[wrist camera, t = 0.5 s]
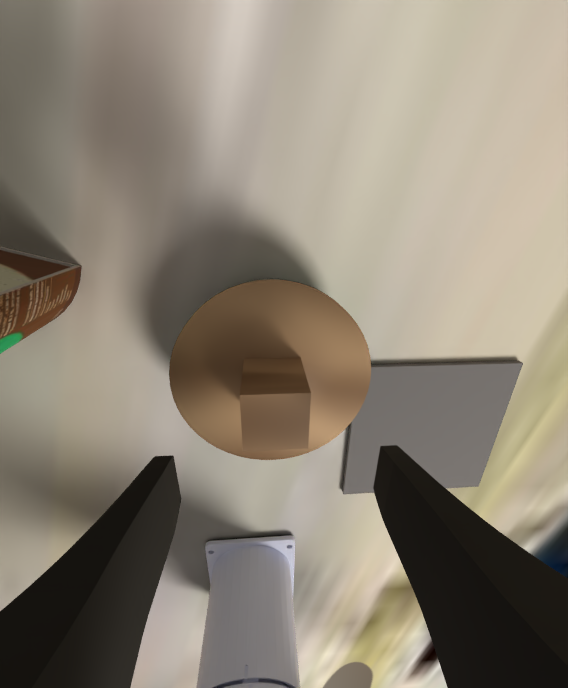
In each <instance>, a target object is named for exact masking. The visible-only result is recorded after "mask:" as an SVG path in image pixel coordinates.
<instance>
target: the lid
mask: <svg viewBox="0 0 568 688" xmlns="http://www.w3.org/2000/svg"><path fill="white" fill-rule="evenodd" d="M169 377H170V387H171V391H172V395H173V398H174V401H175V403H176V406H177V408H178V410H179V412H180V413H181V415H182V417H183V418H184V420H185V421H186V422H187V423H188V425H189V426H190V427H191V428H192V429H193V430H194V431H195V432H196V433H197V434H198V435H199V436H200V437H202V438H203V439H204V440H206V441H207V442H208V443H210V444H212V445H213V446H215V447H217V448H219V449H221V450H223V451H226V452H228V453H231V454H234V455H237V456H241V457H245V458H250V459H260V460H276V459H285V458H290V457H295V456H299V455H302V454H305V453H308V452H310V451H313V450H315V449H317V448H319V447H321V446H323V445H325V444H327V443H328V442H330V441H331V440H332V439H334V438H335V437H337V436H338V435H339V434H340V433H341V432H342V431H343V430H345V429H346V427H347V426H348V425H349V424H350V423H351V422H352V421H353V419H354V418H355V417H356V415H357V414H358V412H359V411H360V409H361V407H362V405H363V403H364V401H365V398H366V395H367V392H368V389H369V384H370V379H371V360H370V354H369V349H368V345H367V343H366V340H365V338H364V335H363V333H362V332H361V330H360V328H359V327H358V325H357V323H356V322H355V321H354V320H353V318H352V317H351V316H350V315H349V313H348V312H347V311H346V310H345V309H344V308H343V307H342V306H340V305H339V304H338V303H337V302H336V301H335V300H333V299H332V298H331V297H329V296H328V295H326V294H325V293H323V292H321V291H319V290H317V289H315V288H313V287H310V286H307V285H304V284H301V283H298V282H292V281H287V280H275V279H269V280H256V281H251V282H247V283H242V284H239V285H237V286H234V287H231V288H228V289H226V290H225V291H223V292H221V293H219V294H217V295H215V296H214V297H212V298H211V299H210V300H208V301H207V302H205V303H204V304H203V305H202V306H201V307H200V308H199V309H198V310H197V311H196V312H195V313H194V314H193V316H192V317H191V318H190V319H189V321H188V322H187V323H186V325H185V326H184V328H183V329H182V331H181V333H180V334H179V336H178V338H177V340H176V343H175V345H174V348H173V351H172V355H171V360H170V370H169Z"/></svg>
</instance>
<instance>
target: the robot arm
mask: <svg viewBox="0 0 568 688" xmlns="http://www.w3.org/2000/svg"><path fill="white" fill-rule="evenodd" d="M373 489H374V493H375V496H376V500H377V503H378V506H379V509H380V512H381V515H382V519H383V521H384V523H385V526H386V528H387V530H388V533H389V535H390V537H391V540H392V542H393V544H394V547H395V549H396V551H397V554H398V556H399V558H400V560H401V563H402V565H403V567H404V570H405V572H406V574H407V576H408V579H409V581H410V583H411V586H412V588H413V590H414V592H415V595H416V598H417V600H418V603H419V605H420V608H421V610H422V613H423V616H424V619H425V621H426V624H427V627H428V630H429V633H430V636H431V639H432V642H433V645H434V647H435V650H436V653H437V656H438V659H439V662H440V665H441V669H442V672H443V675H444V678H445V681H446V684H447V687H448V688H568V578H566V577H565V576H563V575H562V574H560V573H558V572H557V571H555V570H554V569H552V568H551V567H549V566H548V565H546V564H545V563H543V562H542V561H540V560H539V559H537V558H536V557H534V556H533V555H531V554H530V553H528V552H527V551H525V550H524V549H523V548H521V547H520V546H518V545H517V544H516V543H514V542H513V541H511V540H510V539H509V538H507V537H506V536H504V535H503V534H502V533H500V532H499V531H498V530H496V529H495V528H494V527H492V526H491V525H490V524H488V523H487V522H486V521H485V520H483V519H482V518H481V517H480V516H478V515H477V514H476V513H475V512H473V511H472V510H471V509H469V508H468V507H467V506H466V505H465V504H463V503H462V502H461V501H460V500H459V499H457V498H456V497H455V496H454V495H453V494H451V493H450V492H449V491H448V490H447V489H446V488H444V487H443V486H442V485H441V484H440V483H439V482H438V481H436V480H435V479H434V478H433V477H432V476H431V475H430V474H429V473H427V472H426V471H425V470H424V469H423V468H422V467H421V466H420V465H419V464H417V463H416V462H415V461H414V460H413V459H412V458H411V457H410V456H409V455H408V454H406V453H405V452H404V451H403V450H402V449H401V448H400V447H399V446H397V445H390V446H380V451H379V457H378V463H377V469H376V474H375V480H374V486H373ZM180 503H181V495H180V490H179V484H178V479H177V473H176V468H175V462H174V456H155V457H154V458H153V459H152V460H151V461H150V462H149V463H148V464H147V466H146V467H145V468H144V469H143V470H142V471H141V473H140V474H139V475H138V476H137V477H136V478H135V480H134V481H133V482H132V483H131V484H130V485H129V486H128V488H127V489H126V490H125V491H124V492H123V493H122V494H121V496H120V497H119V498H118V499H117V500H116V501H115V502H114V503H113V504H112V505H111V506H110V508H109V509H108V510H107V511H106V512H105V513H104V514H103V515H102V516H101V517H100V518H99V519H98V521H97V522H96V523H95V524H94V525H93V526H92V527H91V528H90V529H89V530H88V531H87V532H86V533H85V534H84V535H83V536H82V537H81V538H80V539H79V540H78V541H77V542H76V543H75V544H74V545H73V546H72V547H71V548H70V549H69V550H68V551H67V552H66V553H65V554H64V555H63V556H62V557H61V558H60V559H59V560H58V561H57V562H55V563H54V564H53V565H52V566H51V567H50V568H49V569H48V570H47V571H46V572H45V573H44V574H43V575H41V576H40V577H39V578H38V579H37V580H36V581H35V582H34V583H33V584H32V585H30V586H29V587H28V588H27V589H26V590H25V591H24V592H22V593H21V594H20V595H19V596H18V597H17V598H15V599H14V600H13V601H12V602H11V603H10V604H9V605H7V606H6V607H5V608H4V609H3V610H1V611H0V688H130V687H131V682H132V678H133V674H134V669H135V665H136V661H137V657H138V652H139V648H140V644H141V640H142V636H143V632H144V629H145V625H146V621H147V618H148V614H149V611H150V608H151V605H152V602H153V599H154V596H155V592H156V589H157V586H158V583H159V580H160V577H161V574H162V570H163V567H164V564H165V561H166V558H167V555H168V551H169V548H170V545H171V542H172V539H173V535H174V532H175V527H176V523H177V518H178V513H179V508H180ZM205 552H206V559H207V565H208V572H209V579H210V586H211V587H210V594H209V601H208V609H207V616H206V623H205V630H204V637H203V645H202V652H201V659H200V666H199V673H198V681H197V688H300V679H299V667H298V655H297V644H296V632H295V620H294V608H293V587H294V557H295V538H294V537H293V536H274V537H260V538H245V539H230V540H215V541H208V542H207V543H206V545H205Z"/></svg>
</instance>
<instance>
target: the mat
mask: <svg viewBox="0 0 568 688" xmlns="http://www.w3.org/2000/svg"><path fill="white" fill-rule="evenodd" d="M522 365H523V363H522V362H520V361H490V362H452V363H414V364H377V365H371V379H370V384H369V389H368V392H367V395H366V398H365V401H364V403H363V405H362V407H361V409H360V411H359V412H358V414H357V415H356V417H355V418H354V419H353V421H352V422H351V423H350V428H349V436H348V445H347V453H346V462H345V470H344V479H343V488H342V491H343V494H357V493H374V489H373V486H374V480H375V474H376V469H377V463H378V457H379V451H380V446H390V445H397V446H399V447H400V448H401V449H402V450H403V451H404V452H405V453H406V454H408V455H409V456H410V457H411V458H412V459H413V460H414V461H415V462H416V463H417V464H419V465H420V466H421V467H422V468H423V469H424V470H425V471H426V472H427V473H429V474H430V475H431V476H432V477H433V478H434V479H435V480H436V481H438V482H439V483H440V484H441V485H442V486H443V487H444V488H460V487H477V486H479V483H480V481H481V478H482V475H483V472H484V470H485V467H486V464H487V461H488V459H489V456H490V453H491V450H492V448H493V445H494V442H495V439H496V437H497V434H498V431H499V428H500V426H501V423H502V420H503V417H504V415H505V412H506V409H507V406H508V403H509V401H510V398H511V395H512V392H513V390H514V387H515V384H516V381H517V379H518V376H519V373H520V370H521V368H522Z"/></svg>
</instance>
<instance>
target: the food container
mask: <svg viewBox="0 0 568 688" xmlns="http://www.w3.org/2000/svg"><path fill="white" fill-rule="evenodd" d="M80 277H81V266H80V265H76V264H72V263H68V262H63V261H59V260H55V259H51V258H47V257H43V256H39V255H35V254H30V253H26V252H22V251H18V250H14V249H10V248H6V247H2V246H0V353H2V352H4V351H5V350H7V349H8V348H10V347H11V346H13V345H15V344H16V343H18V342H19V341H21V340H22V339H24V338H26V337H27V336H29V335H30V334H32V333H33V332H35V331H37V330H38V329H40V328H41V327H43V326H44V325H46V324H48V323H49V322H51V321H52V320H54V319H55V318H57V317H58V316H59V315H60V314H61V313H63V312H64V311H65V310H66V309H67V307H68V306H69V305H70V303H71V302H72V300H73V298H74V296H75V294H76V292H77V290H78V286H79V283H80Z"/></svg>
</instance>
